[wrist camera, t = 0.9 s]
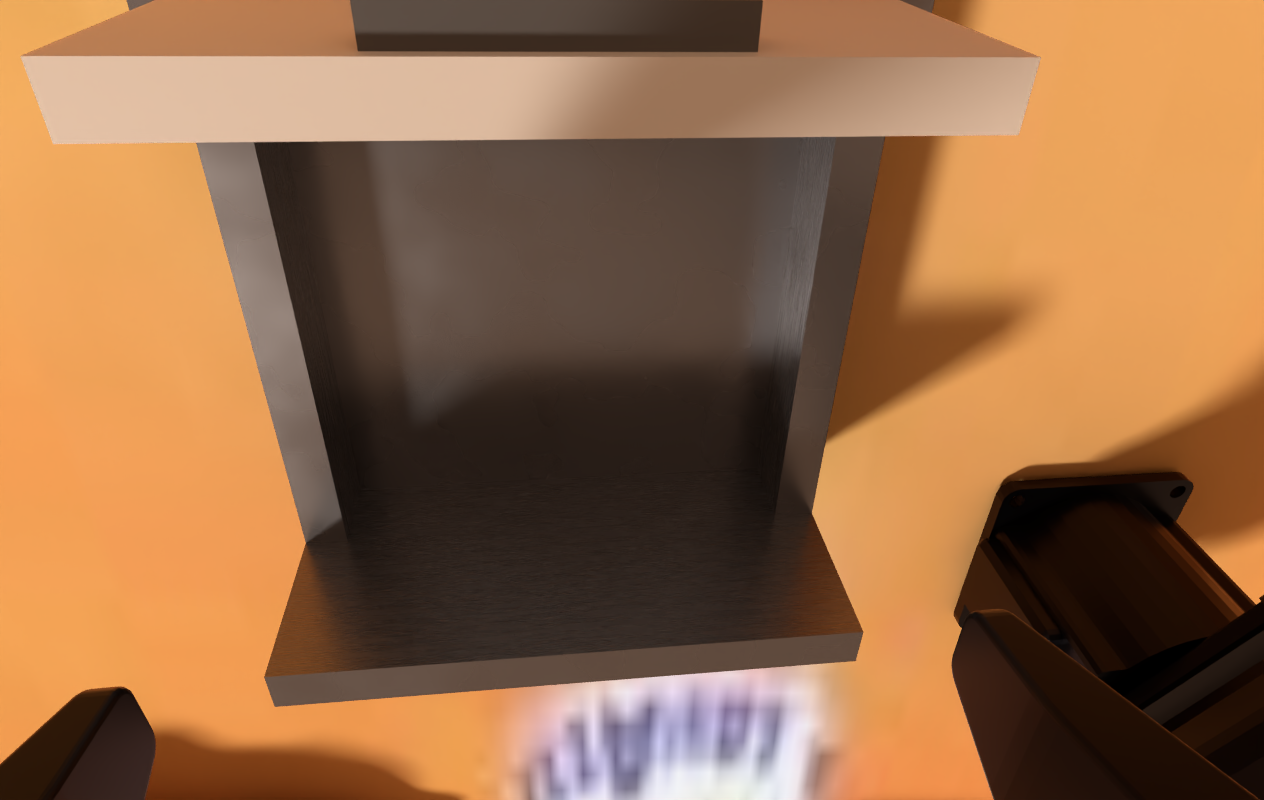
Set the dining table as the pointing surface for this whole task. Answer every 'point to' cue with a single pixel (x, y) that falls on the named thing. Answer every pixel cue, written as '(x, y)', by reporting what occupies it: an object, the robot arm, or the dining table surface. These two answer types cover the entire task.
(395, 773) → the dining table surface
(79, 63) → the tailgate
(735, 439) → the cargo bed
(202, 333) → the dining table surface
